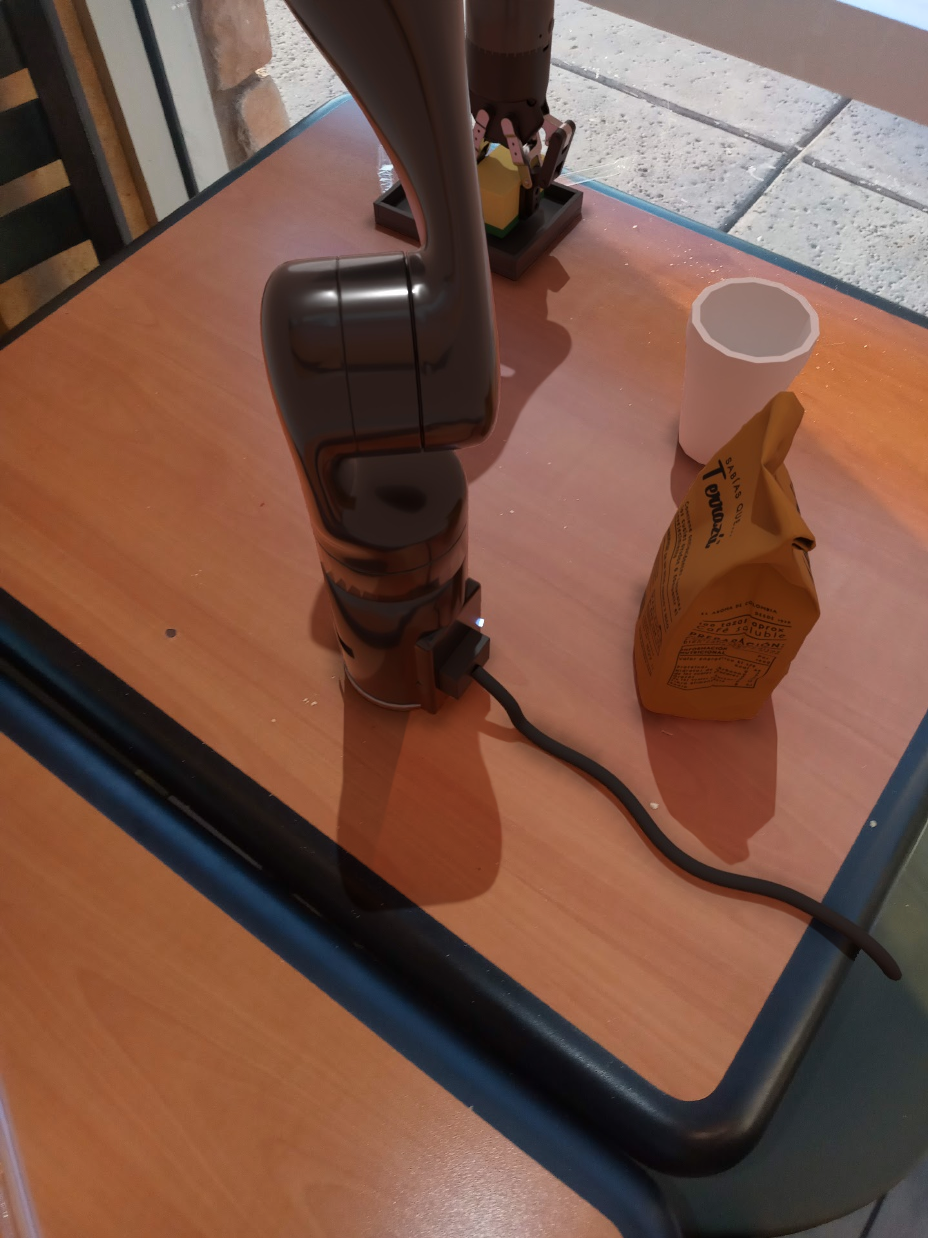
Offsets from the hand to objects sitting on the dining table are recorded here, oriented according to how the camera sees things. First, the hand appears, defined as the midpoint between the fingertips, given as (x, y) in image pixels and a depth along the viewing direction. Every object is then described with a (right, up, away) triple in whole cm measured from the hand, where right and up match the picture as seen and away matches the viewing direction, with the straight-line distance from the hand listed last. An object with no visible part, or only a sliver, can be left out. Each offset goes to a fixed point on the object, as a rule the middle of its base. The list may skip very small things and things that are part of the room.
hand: (502, 205), depth 92 cm
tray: (-2, 0, +3) cm, 4 cm away
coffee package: (+13, -45, -25) cm, 53 cm away
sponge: (0, 0, 0) cm, 0 cm away
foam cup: (+18, -27, -14) cm, 35 cm away
